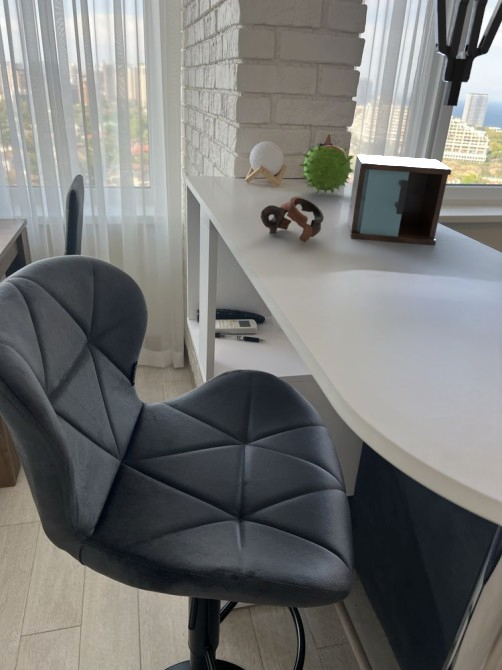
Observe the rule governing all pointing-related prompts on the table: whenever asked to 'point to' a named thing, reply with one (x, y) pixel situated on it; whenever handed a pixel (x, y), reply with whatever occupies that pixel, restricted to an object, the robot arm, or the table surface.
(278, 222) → the two-tone looped frame
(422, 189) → the display cabinet
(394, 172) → the glass door
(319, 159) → the chestnut
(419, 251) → the table surface
